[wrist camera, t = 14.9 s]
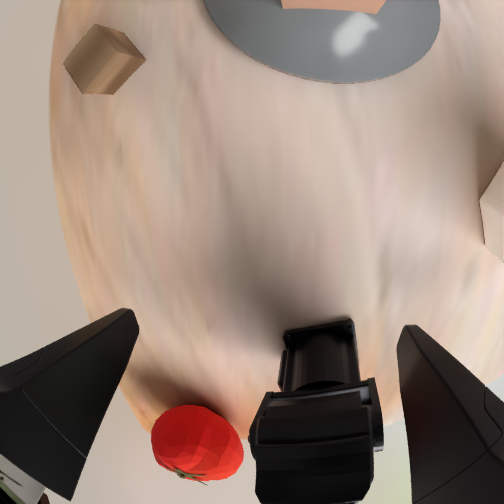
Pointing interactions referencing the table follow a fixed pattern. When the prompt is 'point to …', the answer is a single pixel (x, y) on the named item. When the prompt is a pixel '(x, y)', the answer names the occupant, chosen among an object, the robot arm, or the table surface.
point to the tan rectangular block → (336, 5)
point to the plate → (330, 37)
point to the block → (103, 61)
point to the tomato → (196, 444)
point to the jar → (494, 215)
